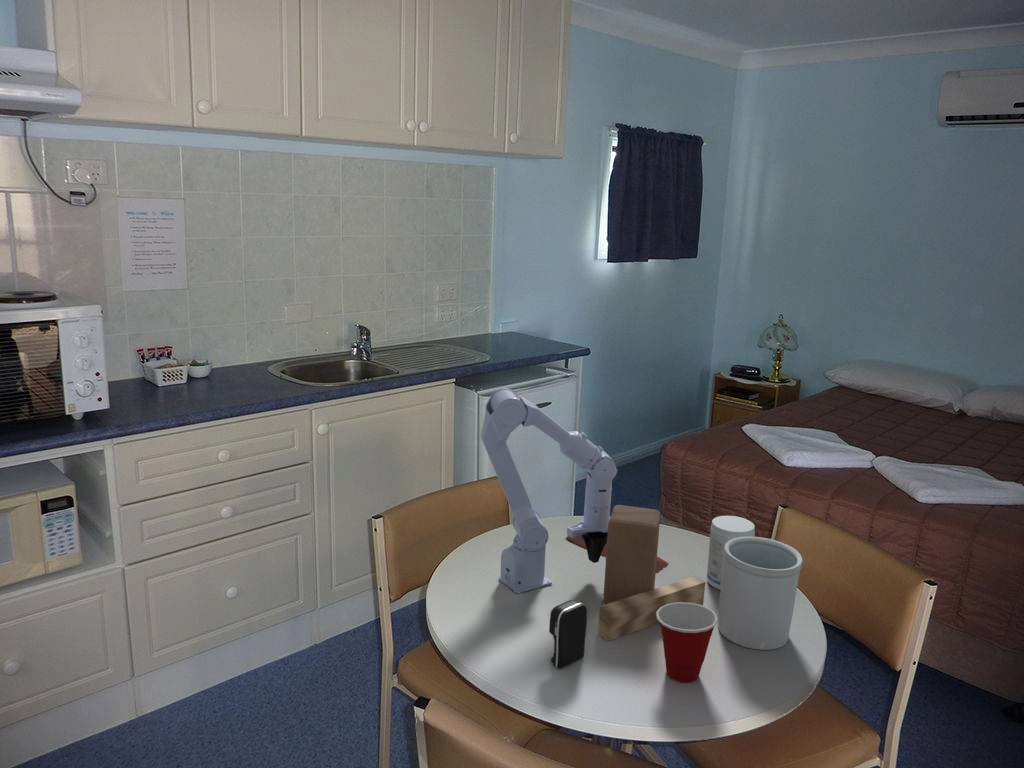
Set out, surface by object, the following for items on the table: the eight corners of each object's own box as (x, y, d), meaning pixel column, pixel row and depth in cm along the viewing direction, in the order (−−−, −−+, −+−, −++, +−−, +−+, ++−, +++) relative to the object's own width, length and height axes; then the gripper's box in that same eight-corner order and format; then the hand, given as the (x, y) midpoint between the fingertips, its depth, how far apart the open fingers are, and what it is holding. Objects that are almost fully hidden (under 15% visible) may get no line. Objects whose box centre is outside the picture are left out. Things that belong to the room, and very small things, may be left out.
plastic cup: (669, 649, 151) (674, 592, 149) (721, 672, 145) (728, 613, 142) (640, 673, 143) (644, 614, 141) (693, 699, 137) (700, 637, 134)
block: (650, 616, 163) (657, 526, 159) (602, 608, 166) (607, 520, 161) (654, 593, 173) (661, 508, 168) (608, 586, 175) (614, 502, 170)
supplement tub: (750, 578, 181) (757, 519, 178) (748, 597, 172) (755, 535, 169) (707, 570, 184) (713, 512, 181) (703, 589, 176) (709, 527, 172)
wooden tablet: (562, 541, 199) (563, 535, 198) (588, 530, 206) (588, 524, 205) (649, 579, 181) (650, 572, 180) (674, 565, 187) (675, 559, 187)
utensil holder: (799, 626, 161) (809, 547, 157) (783, 661, 149) (794, 576, 145) (727, 606, 169) (735, 530, 164) (706, 637, 156) (714, 556, 152)
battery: (571, 648, 151) (574, 594, 148) (585, 657, 148) (588, 602, 145) (544, 661, 146) (547, 605, 143) (558, 671, 143) (561, 614, 141)
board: (607, 641, 154) (609, 613, 152) (597, 633, 156) (599, 606, 155) (702, 607, 167) (705, 581, 166) (692, 601, 170) (695, 576, 168)
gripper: (582, 516, 168) (578, 575, 171) (634, 504, 176) (629, 560, 179) (562, 505, 174) (559, 561, 177) (613, 494, 181) (609, 548, 185)
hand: (593, 560), depth 178 cm, fingers closed
